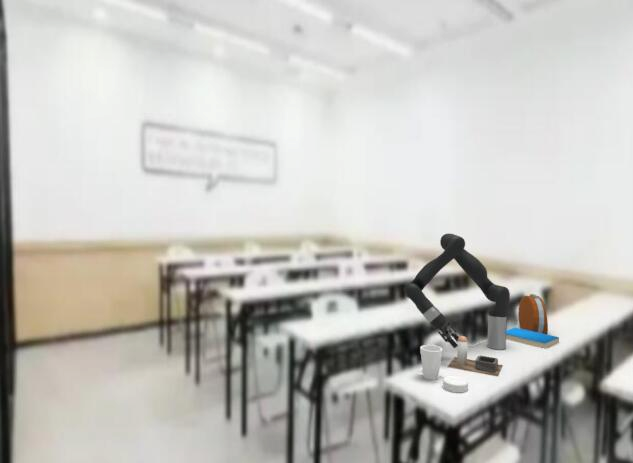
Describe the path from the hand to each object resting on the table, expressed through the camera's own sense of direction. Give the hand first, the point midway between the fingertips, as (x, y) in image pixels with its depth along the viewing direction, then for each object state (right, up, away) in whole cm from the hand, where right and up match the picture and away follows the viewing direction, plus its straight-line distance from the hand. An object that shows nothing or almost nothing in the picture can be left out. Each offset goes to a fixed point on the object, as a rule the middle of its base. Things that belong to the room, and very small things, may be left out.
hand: (458, 344), depth 212 cm
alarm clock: (+64, -7, +59) cm, 88 cm away
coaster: (-9, -12, -25) cm, 29 cm away
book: (+53, -9, +41) cm, 68 cm away
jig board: (+7, -10, -3) cm, 13 cm away
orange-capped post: (+1, -9, 0) cm, 9 cm away
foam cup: (-17, -11, -14) cm, 25 cm away
